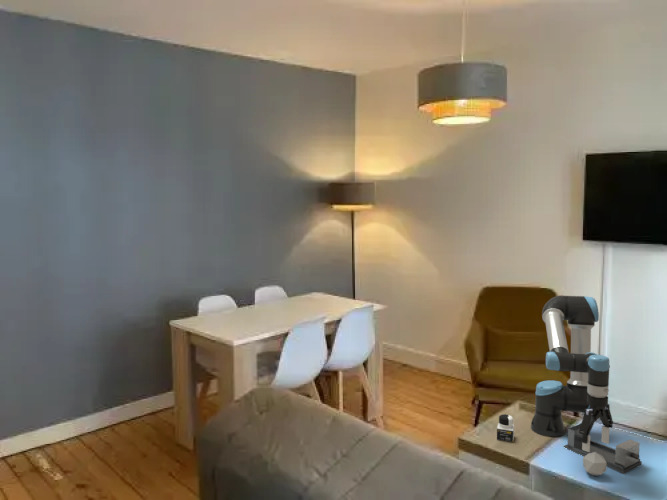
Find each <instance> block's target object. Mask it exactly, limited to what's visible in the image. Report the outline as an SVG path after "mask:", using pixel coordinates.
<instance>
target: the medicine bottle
mask: <svg viewBox="0 0 667 500" xmlns="http://www.w3.org/2000/svg"><path fill="white" fill-rule="evenodd" d="M496 440H497V441H503V442H508V443H514V440H515V424H514V418H513V416H512V415H509V414H500V415H499V416H498V423H497V427H496Z"/></svg>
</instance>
